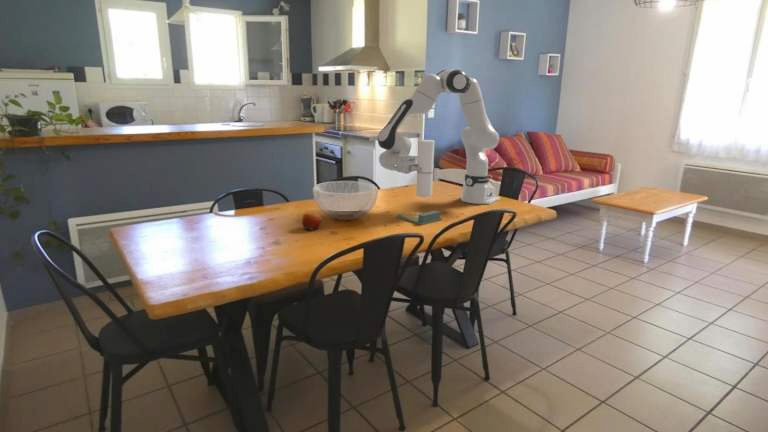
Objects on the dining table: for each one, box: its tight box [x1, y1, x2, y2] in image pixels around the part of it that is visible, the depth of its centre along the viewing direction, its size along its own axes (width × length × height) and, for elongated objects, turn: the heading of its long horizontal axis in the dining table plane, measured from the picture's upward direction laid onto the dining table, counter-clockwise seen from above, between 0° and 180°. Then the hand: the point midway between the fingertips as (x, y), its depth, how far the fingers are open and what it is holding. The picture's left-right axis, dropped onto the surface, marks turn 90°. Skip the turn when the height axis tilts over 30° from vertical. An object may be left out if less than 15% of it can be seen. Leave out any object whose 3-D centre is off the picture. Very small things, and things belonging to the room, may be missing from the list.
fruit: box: [301, 212, 323, 232], centre depth 190 cm, size 8×8×8 cm
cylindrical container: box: [416, 139, 435, 198], centre depth 210 cm, size 7×7×25 cm
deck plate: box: [395, 210, 442, 226], centre depth 209 cm, size 13×16×4 cm
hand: (426, 168), depth 210 cm, fingers closed on cylindrical container, 7 cm apart
